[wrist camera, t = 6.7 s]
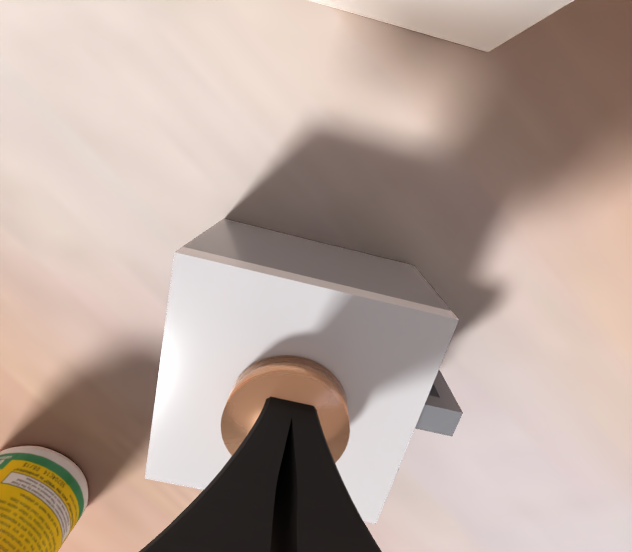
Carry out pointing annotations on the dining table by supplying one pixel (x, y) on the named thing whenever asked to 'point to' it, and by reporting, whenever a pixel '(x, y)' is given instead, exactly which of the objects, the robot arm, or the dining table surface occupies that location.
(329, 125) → the dining table surface
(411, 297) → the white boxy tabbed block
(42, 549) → the supplement bottle
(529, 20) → the press white
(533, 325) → the dining table surface
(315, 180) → the dining table surface
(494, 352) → the dining table surface
